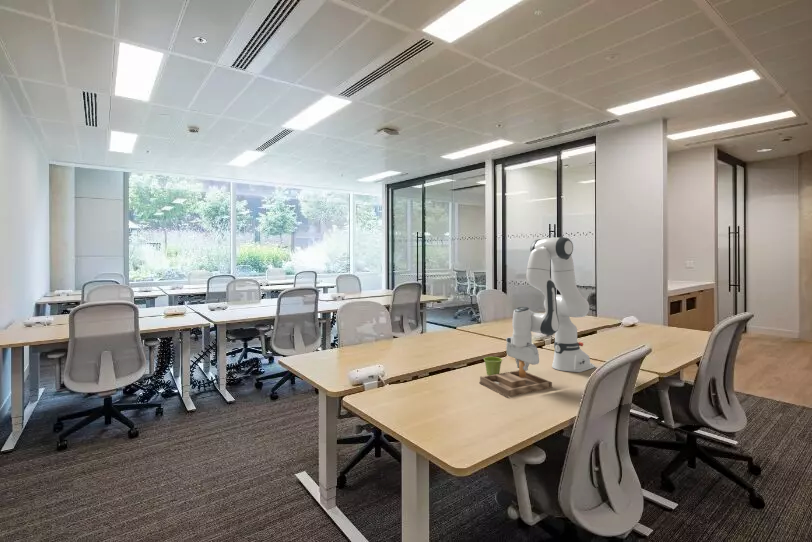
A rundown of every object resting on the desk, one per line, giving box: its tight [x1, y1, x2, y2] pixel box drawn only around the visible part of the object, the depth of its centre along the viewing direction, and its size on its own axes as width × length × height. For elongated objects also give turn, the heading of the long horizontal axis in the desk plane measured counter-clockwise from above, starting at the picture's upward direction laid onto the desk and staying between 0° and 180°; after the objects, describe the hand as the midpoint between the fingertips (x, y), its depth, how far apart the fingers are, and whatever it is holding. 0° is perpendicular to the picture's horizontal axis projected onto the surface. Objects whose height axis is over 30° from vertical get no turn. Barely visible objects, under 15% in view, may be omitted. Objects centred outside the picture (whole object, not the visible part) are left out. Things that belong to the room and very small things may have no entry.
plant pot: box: [483, 356, 503, 376], centre depth 204 cm, size 9×9×9 cm
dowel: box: [518, 360, 527, 378], centre depth 194 cm, size 3×3×8 cm
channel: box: [478, 369, 553, 399], centre depth 187 cm, size 25×22×3 cm
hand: (522, 369), depth 194 cm, fingers closed on dowel, 3 cm apart
